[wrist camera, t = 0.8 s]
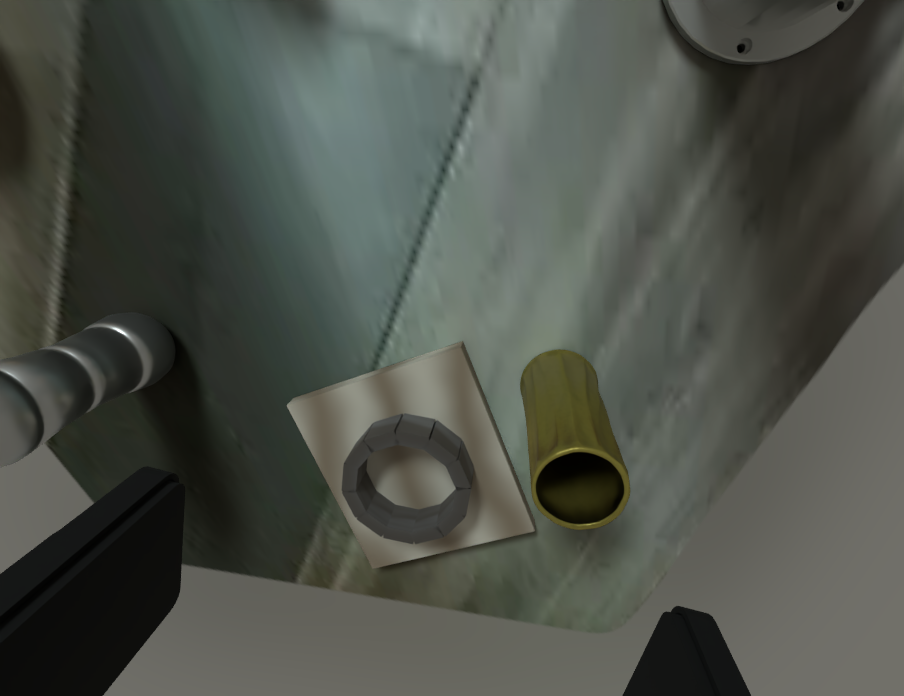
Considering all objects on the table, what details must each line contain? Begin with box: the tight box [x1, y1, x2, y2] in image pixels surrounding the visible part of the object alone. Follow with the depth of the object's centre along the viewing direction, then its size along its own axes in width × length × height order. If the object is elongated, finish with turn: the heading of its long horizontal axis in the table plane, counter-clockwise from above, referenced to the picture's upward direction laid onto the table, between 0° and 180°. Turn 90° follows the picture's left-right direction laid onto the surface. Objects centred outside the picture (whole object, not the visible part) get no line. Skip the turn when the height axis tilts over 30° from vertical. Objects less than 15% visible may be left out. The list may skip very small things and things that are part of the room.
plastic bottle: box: [0, 312, 176, 467], centre depth 33 cm, size 6×7×20 cm
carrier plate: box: [287, 341, 535, 569], centre depth 41 cm, size 16×18×4 cm
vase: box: [520, 350, 630, 530], centre depth 33 cm, size 6×6×14 cm
